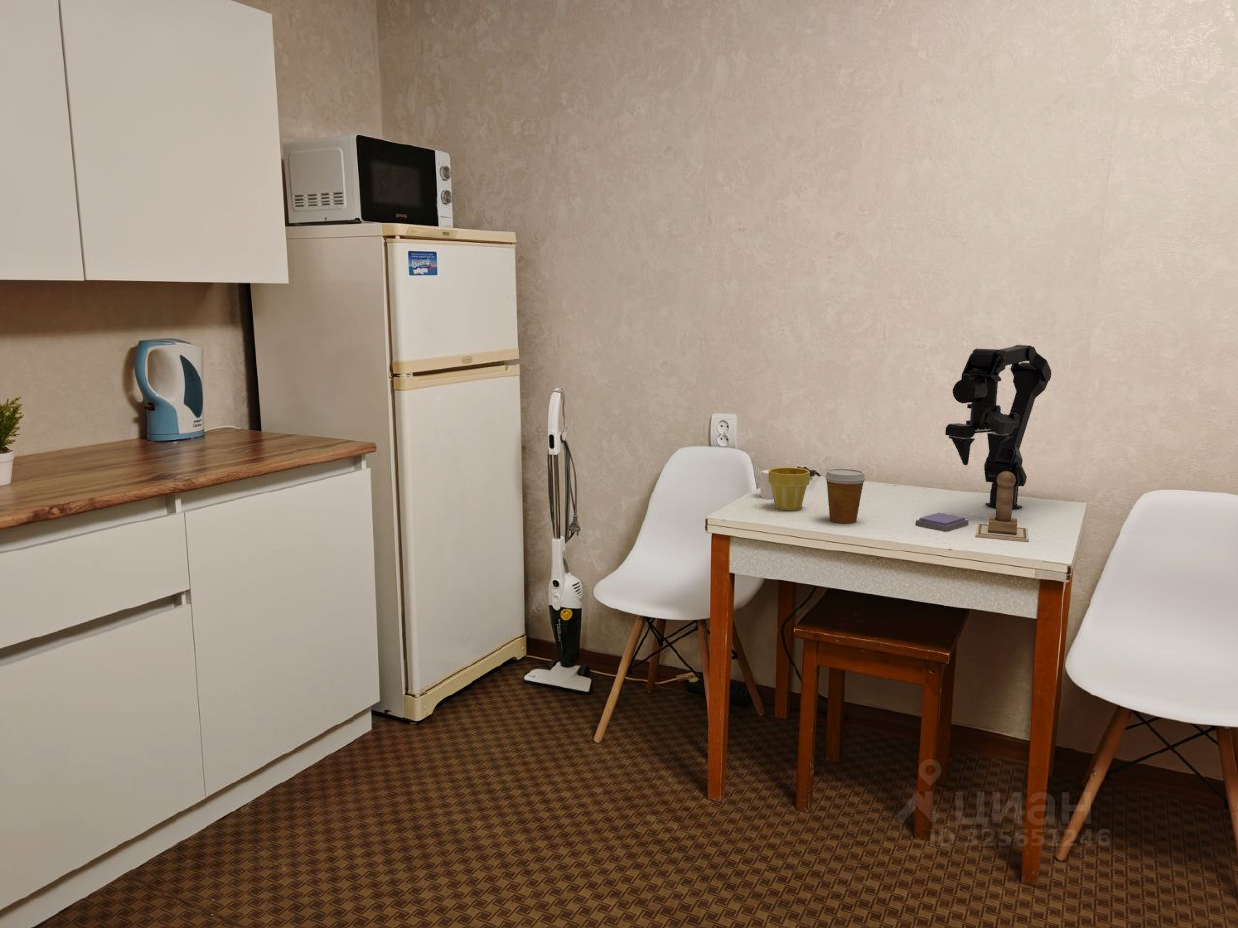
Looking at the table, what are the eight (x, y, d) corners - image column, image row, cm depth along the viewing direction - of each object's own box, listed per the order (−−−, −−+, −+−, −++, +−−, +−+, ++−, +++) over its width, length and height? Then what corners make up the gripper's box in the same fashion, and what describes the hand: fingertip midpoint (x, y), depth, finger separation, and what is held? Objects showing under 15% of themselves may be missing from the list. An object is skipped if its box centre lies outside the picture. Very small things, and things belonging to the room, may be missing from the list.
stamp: (988, 526, 219) (992, 468, 216) (1016, 529, 216) (1021, 470, 214) (987, 532, 213) (992, 472, 211) (1016, 535, 211) (1021, 474, 209)
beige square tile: (977, 526, 222) (977, 523, 222) (1027, 530, 218) (1027, 527, 218) (975, 536, 212) (975, 533, 212) (1028, 541, 208) (1028, 538, 207)
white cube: (768, 500, 249) (769, 474, 247) (753, 495, 255) (754, 470, 253) (789, 498, 252) (790, 472, 251) (773, 493, 258) (774, 468, 257)
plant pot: (763, 510, 237) (765, 472, 235) (771, 502, 246) (772, 465, 245) (804, 513, 233) (806, 475, 232) (811, 505, 243) (812, 468, 241)
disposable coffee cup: (870, 523, 223) (873, 474, 221) (835, 526, 221) (837, 476, 219) (850, 515, 232) (852, 467, 230) (815, 517, 230) (817, 469, 228)
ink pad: (937, 519, 229) (937, 511, 228) (968, 524, 223) (968, 517, 223) (915, 525, 222) (915, 517, 222) (946, 531, 216) (946, 524, 216)
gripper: (981, 405, 217) (976, 472, 220) (1038, 402, 225) (1033, 466, 228) (945, 401, 227) (941, 464, 230) (1001, 397, 235) (997, 459, 238)
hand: (979, 463), depth 231 cm, fingers open, 9 cm apart
